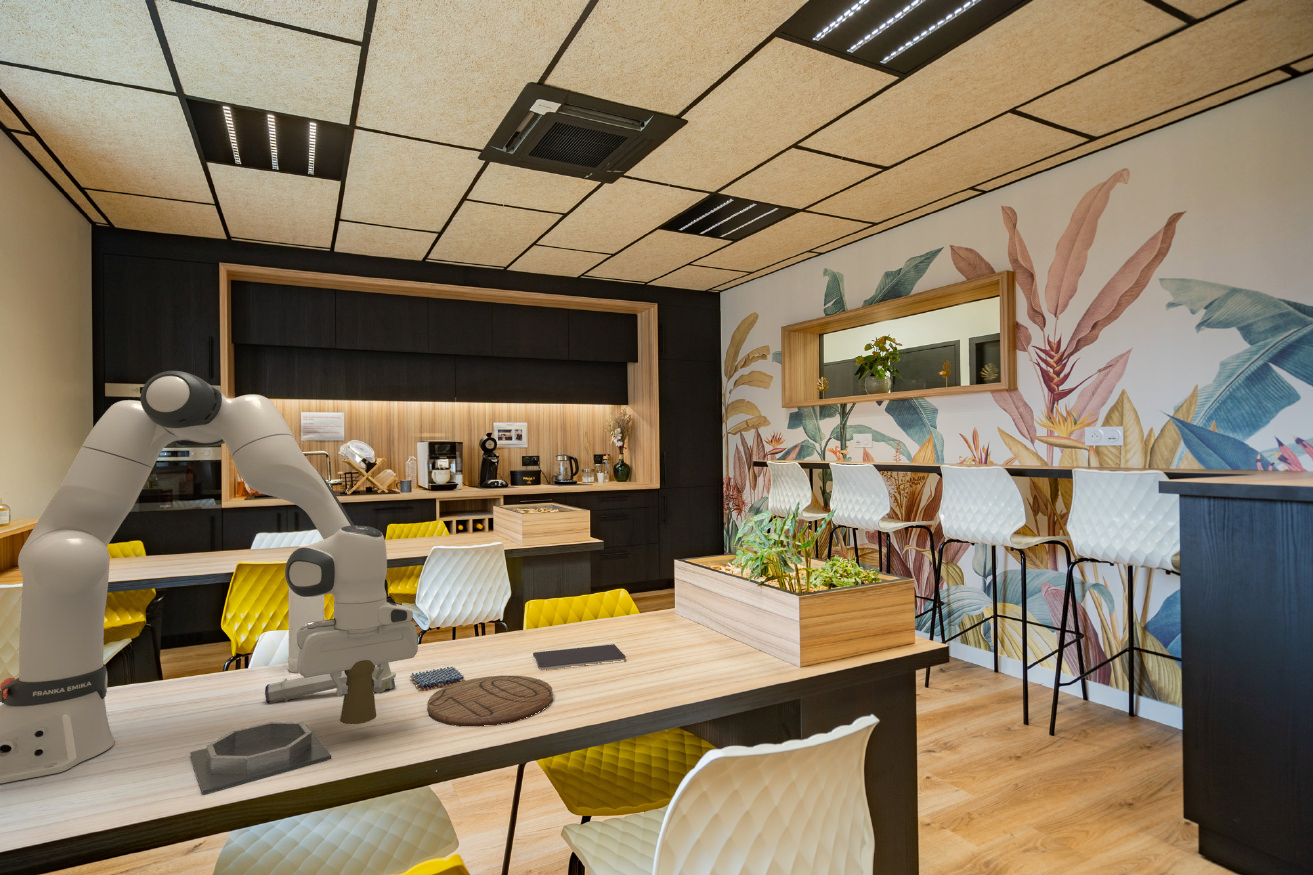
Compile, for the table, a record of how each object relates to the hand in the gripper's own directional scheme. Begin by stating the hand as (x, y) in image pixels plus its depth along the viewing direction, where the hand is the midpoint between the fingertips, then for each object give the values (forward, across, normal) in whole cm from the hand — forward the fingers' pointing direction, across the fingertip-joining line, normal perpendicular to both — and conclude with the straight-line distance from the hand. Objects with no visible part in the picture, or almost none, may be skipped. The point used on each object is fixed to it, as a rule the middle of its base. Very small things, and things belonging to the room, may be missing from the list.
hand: (359, 691), depth 122 cm
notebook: (+8, +56, +13) cm, 58 cm away
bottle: (+8, +2, +52) cm, 53 cm away
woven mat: (+8, +22, +20) cm, 32 cm away
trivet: (+8, +26, 0) cm, 27 cm away
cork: (+5, 0, 0) cm, 5 cm away
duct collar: (+8, -15, +2) cm, 17 cm away
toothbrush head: (+8, +2, +27) cm, 29 cm away
